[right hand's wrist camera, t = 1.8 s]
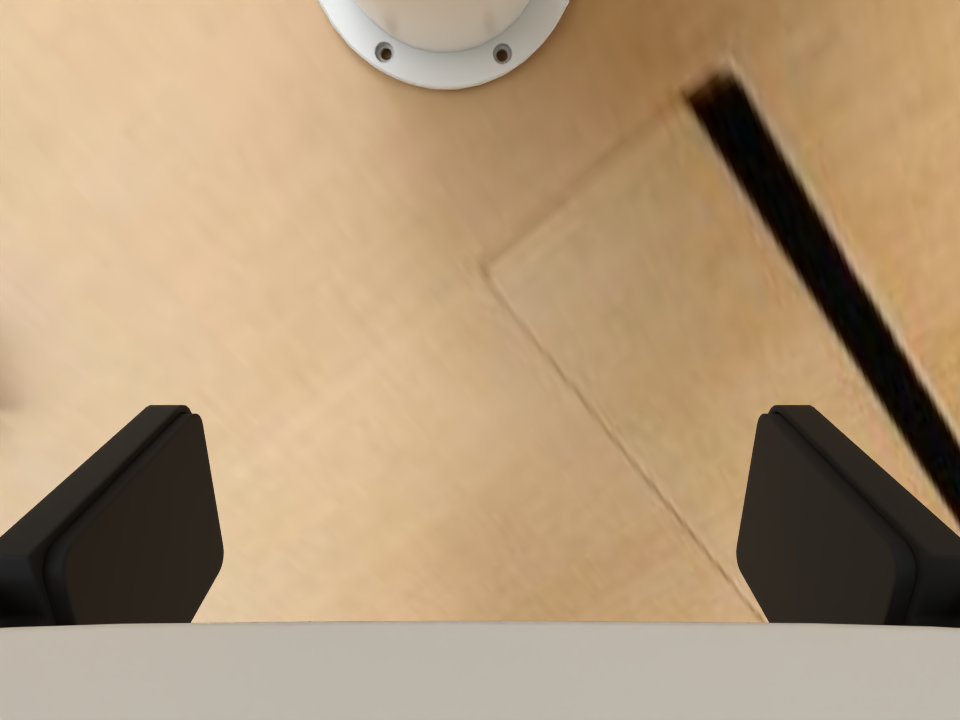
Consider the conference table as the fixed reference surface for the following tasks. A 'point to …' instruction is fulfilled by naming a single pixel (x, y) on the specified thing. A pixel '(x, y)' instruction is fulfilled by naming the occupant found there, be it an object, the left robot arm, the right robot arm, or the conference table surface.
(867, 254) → the conference table surface
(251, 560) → the conference table surface
